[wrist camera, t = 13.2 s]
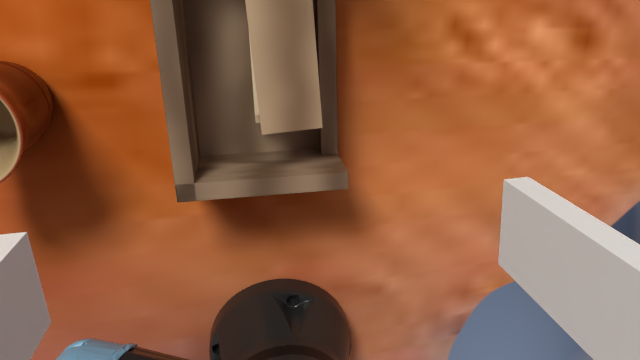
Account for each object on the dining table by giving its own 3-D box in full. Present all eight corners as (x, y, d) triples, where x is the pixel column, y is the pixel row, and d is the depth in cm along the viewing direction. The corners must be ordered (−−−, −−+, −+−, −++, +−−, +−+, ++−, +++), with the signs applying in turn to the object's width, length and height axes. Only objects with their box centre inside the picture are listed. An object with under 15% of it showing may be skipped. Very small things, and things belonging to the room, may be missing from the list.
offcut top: (260, 126, 43) (261, 134, 41) (244, -2, 40) (245, -1, 37) (318, 120, 44) (322, 127, 42) (308, -8, 40) (311, -7, 38)
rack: (186, 169, 50) (177, 202, 42) (154, -91, 42) (135, -106, 34) (332, 158, 52) (348, 189, 44) (328, -93, 44) (345, -108, 36)
